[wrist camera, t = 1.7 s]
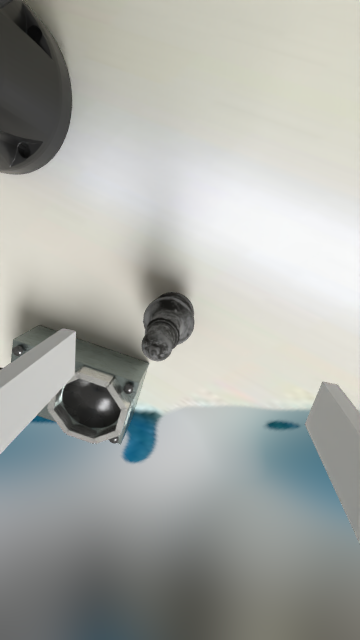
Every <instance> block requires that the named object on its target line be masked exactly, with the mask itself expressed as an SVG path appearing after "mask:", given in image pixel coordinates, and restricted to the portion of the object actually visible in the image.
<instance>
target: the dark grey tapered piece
mask: <svg viewBox="0 0 360 640" xmlns="http://www.w3.org/2000/svg"><path fill="white" fill-rule="evenodd" d="M193 316H194V310H193V306H192V304H191V302H190V301H189V300H188V299H187V298H186V297H185V296H183V295H181V294H179V293H173V292H171V293H166V294H163V295H161V296H160V297H159V298H158V299H156V300H154V301H153V302H152V303H151V304H149V306H148V307H147V309H146V310H145V313H144V319H143V323H144V327H145V336H144V338H143V340H142V351H143V353H144V354H145V355H146V357H148V358H149V359H151V360H153V361H162V360H165V359H166V358H167V357H168V356H169V355H170V354H171V351H172V349H173V348H175V347H176V345H178V344H180V343H183V342H184V341H185V340H187V339H188V338H189V336H190V335H191V333H192V331H193V329H194V317H193Z"/></svg>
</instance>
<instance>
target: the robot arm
mask: <svg viewBox="0 0 360 640" xmlns="http://www.w3.org/2000/svg"><path fill="white" fill-rule="evenodd" d="M71 109H72V95H71V85H70V79H69V74H68V70H67V67H66V64H65V61H64V58H63V55H62V53H61V51H60V49H59V47H58V45H57V43H56V41H55V40H54V38H53V36H52V35H51V33H50V32H49V30H48V29H47V28H46V27H45V25H44V24H43V23H42V22H41V20H40V19H39V18H38V17H37V16H36V15H35V13H34V12H33V11H32V10H31V9H30V8H29V7H28V5H27V4H26V3H24V2H23V1H22V0H0V172H1V173H6V174H16V175H17V174H26V173H30V172H33V171H35V170H37V169H39V168H41V167H43V166H44V165H45V164H47V163H48V162H49V161H50V160H51V159H52V158H53V157H54V156H55V154H56V153H57V152H58V150H59V149H60V147H61V145H62V143H63V141H64V139H65V137H66V134H67V131H68V128H69V123H70V118H71ZM75 346H76V331H74V330H69V329H64V328H62V329H60V330H59V331H57V332H56V333H55V334H53V335H52V336H50V337H49V338H47V339H46V340H44V341H43V342H41V343H40V344H38V345H37V346H35V347H34V348H32V349H31V350H29V351H28V352H26V353H25V354H23V355H22V356H20V357H19V358H17V359H16V360H14V361H13V362H11V363H10V364H8V365H7V366H6V367H4V368H0V454H1V452H3V451H4V450H5V448H6V447H7V446H8V445H9V444H10V443H11V442H12V441H13V440H14V439H15V438H16V437H17V436H18V435H19V433H20V432H21V431H22V430H23V429H24V428H25V427H26V426H27V425H28V424H29V423H30V422H31V421H32V420H33V419H34V418H35V416H36V415H37V414H38V413H39V412H40V411H41V410H42V409H43V408H44V407H45V406H46V405H47V404H48V403H49V402H50V400H51V399H52V398H53V397H54V396H55V395H56V394H57V393H58V392H59V391H60V390H61V389H62V388H63V387H64V386H65V384H66V383H67V382H68V381H69V380H70V379H71V378H72V377H73V376H74V375H75ZM305 426H306V428H307V430H308V432H309V434H310V436H311V438H312V441H313V443H314V445H315V447H316V450H317V452H318V454H319V456H320V458H321V460H322V463H323V465H324V467H325V469H326V471H327V473H328V476H329V478H330V480H331V482H332V484H333V487H334V489H335V491H336V493H337V495H338V497H339V500H340V502H341V504H342V506H343V508H344V511H345V513H346V515H347V517H348V519H349V522H350V524H351V526H352V528H353V530H354V532H355V534H356V537H357V539H358V541H359V543H360V413H359V411H358V410H357V409H356V408H355V406H354V405H353V404H352V402H351V401H350V400H349V399H348V397H347V396H346V395H345V393H344V392H343V391H342V390H341V388H340V387H339V386H338V385H337V384H332V383H327V382H322V384H321V386H320V389H319V391H318V394H317V396H316V398H315V401H314V403H313V406H312V408H311V411H310V413H309V415H308V418H307V421H306V423H305Z"/></svg>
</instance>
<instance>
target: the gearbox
mask: <svg viewBox="0 0 360 640" xmlns="http://www.w3.org/2000/svg"><path fill="white" fill-rule="evenodd" d="M56 332H57V331H54V330H51V329H48V328H45V327H42V326H37V327H35V328H33V329H31V330H30V331H28V332H26V333H24V334H22V335H21V336H19V337H17V338H15V339H13V348H12V358H11V362H13V361H14V360H16V359H17V358H19V357H20V356H22V355H23V354H25V353H26V352H28V351H29V350H31V349H32V348H34V347H35V346H37V345H38V344H40V343H41V342H43V341H44V340H46V339H47V338H49V337H50V336H52V335H53V334H55V333H56ZM148 365H149V363H147V362H144V361H141V360H139V359H136V358H133V357H130V356H127V355H124V354H121V353H118V352H115V351H112V350H109V349H106V348H104V347H101V346H98V345H95V344H92V343H89V342H86V341H83V340H80V339H77V338H76V346H75V375H74V376H73V377H72V378H71V379H70V380H69V381H68V382H67V383H66V384H65V386H64V387H63V388H62V389H61V390H60V391H59V392H58V393H57V394H56V395H55V396H54V397H53V398H52V399H51V400H50V402H49V403H48V404H47V405H46V406H45V407H44V408H43V409H42V410H41V411H40V412H39V413H38V414H37V415H38V416H41V417H44V418H47V419H50V420H52V421H55V422H57V424H58V425H59V426H60V428H61V429H62V430H63V432H64V433H66V432H67V433H66V434H67V435H69V436H72V437H76V438H78V439H81V440H84V441H87V442H90V443H92V444H94V443H95V444H97V443H100V442H103V441H105V440H110V442H112V443H119V444H121V443H122V440H123V438H124V436H125V433H126V431H127V429H128V426H129V424H130V422H131V419H132V416H133V413H134V410H135V407H136V404H137V400H138V397H139V394H140V391H141V388H142V384H143V381H144V378H145V375H146V371H147V368H148Z"/></svg>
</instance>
